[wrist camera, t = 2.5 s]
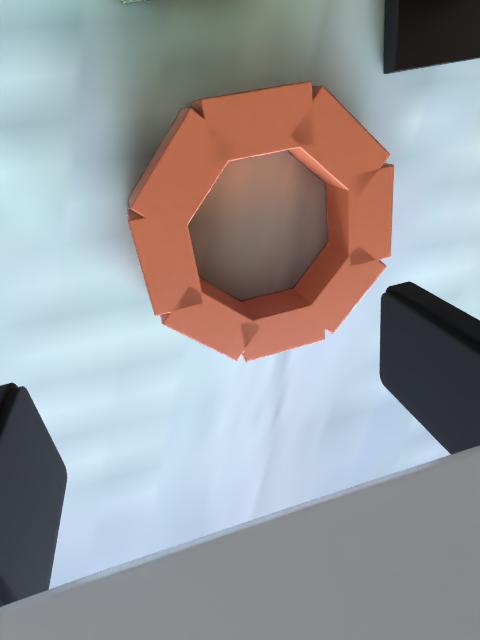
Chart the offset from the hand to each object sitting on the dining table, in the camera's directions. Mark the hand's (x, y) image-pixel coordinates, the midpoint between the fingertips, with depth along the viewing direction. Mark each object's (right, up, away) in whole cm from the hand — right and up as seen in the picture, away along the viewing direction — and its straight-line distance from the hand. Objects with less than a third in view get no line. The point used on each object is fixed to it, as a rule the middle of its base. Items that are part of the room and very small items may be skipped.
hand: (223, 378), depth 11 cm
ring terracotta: (+1, +6, +10) cm, 12 cm away
